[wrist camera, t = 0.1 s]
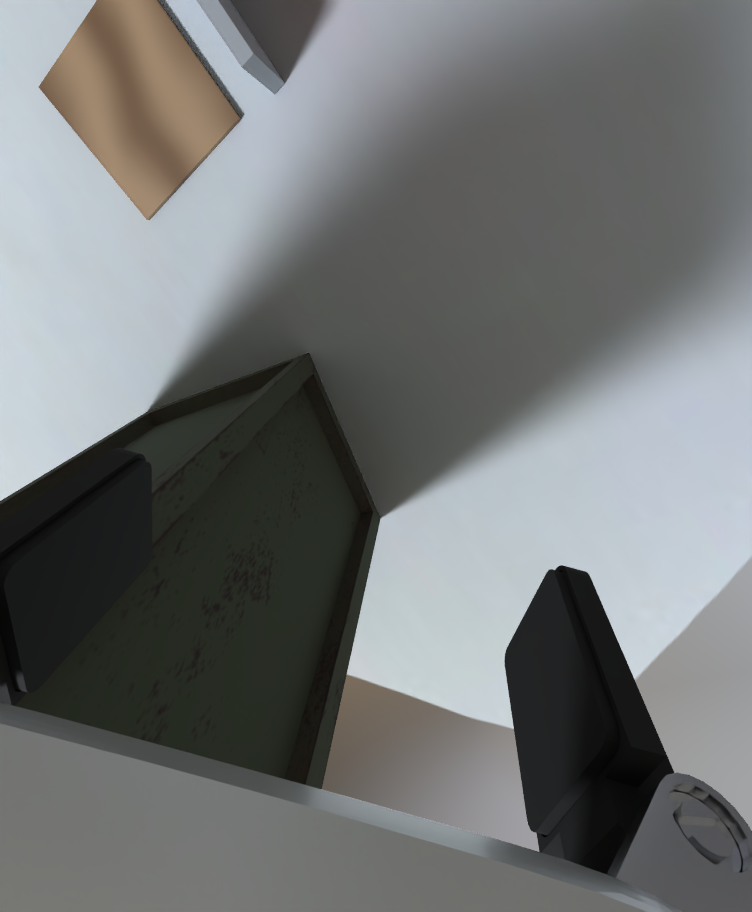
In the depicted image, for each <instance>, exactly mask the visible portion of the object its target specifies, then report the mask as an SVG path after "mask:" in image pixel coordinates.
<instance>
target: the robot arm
mask: <svg viewBox="0 0 752 912" xmlns="http://www.w3.org/2000/svg"><path fill="white" fill-rule="evenodd" d="M152 551H153V549H152V467H151V464H150V463H149V462H146V458H145V456H144V455H143V454H140V453H137V452H133V451H129V450H125V449H122V448H114V449H112V450H111V451H109V452H108V453H106V454H104V455H103V456H101V457H100V458H98V459H97V460H95V461H94V462H92V463H91V464H89V465H88V466H86V467H85V468H83V469H82V470H80V471H79V472H77V473H76V474H74V475H72V476H71V477H69V478H68V479H66V480H65V481H63V482H62V483H60V484H59V485H57V486H56V487H54V488H53V489H51V490H50V491H48V492H47V493H45V494H44V495H42V496H40V497H39V498H37V499H36V500H34V501H33V502H31V503H30V504H28V505H27V506H25V507H24V508H22V509H21V510H19V511H18V512H16V513H15V514H13V515H12V516H10V517H8V518H7V519H5V520H4V521H2V522H1V523H0V912H752V831H751V829H750V827H749V826H748V824H747V823H746V822H745V820H744V819H743V818H742V817H741V815H740V814H739V813H738V811H737V810H736V809H735V808H734V807H733V806H732V805H731V804H730V803H729V802H728V801H727V800H726V799H725V798H724V797H723V796H722V795H721V794H720V793H719V792H717V791H716V790H714V789H713V788H712V787H710V786H709V785H707V784H706V783H705V782H703V781H701V780H699V779H696V778H694V777H692V776H690V775H686V774H681V773H674V771H673V769H672V766H671V764H670V762H669V759H668V757H667V755H666V752H665V750H664V748H663V745H662V743H661V741H660V738H659V736H658V734H657V731H656V729H655V727H654V725H653V722H652V720H651V717H650V715H649V713H648V711H647V708H646V706H645V704H644V701H643V699H642V696H641V694H640V692H639V689H638V687H637V685H636V682H635V680H634V678H633V675H632V673H631V671H630V668H629V666H628V664H627V661H626V659H625V657H624V654H623V652H622V650H621V648H620V645H619V643H618V641H617V638H616V636H615V634H614V631H613V629H612V627H611V624H610V622H609V620H608V617H607V615H606V613H605V610H604V608H603V606H602V603H601V601H600V599H599V596H598V594H597V592H596V589H595V587H594V585H593V582H592V580H591V578H590V576H589V574H588V573H587V572H585V571H581V570H577V569H573V568H570V567H566V566H559V567H557V568H556V570H552V569H551V570H549V571H548V572H547V573H546V575H545V577H544V579H543V581H542V583H541V585H540V586H539V588H538V590H537V592H536V594H535V596H534V598H533V600H532V602H531V604H530V605H529V607H528V609H527V611H526V613H525V615H524V617H523V619H522V621H521V622H520V624H519V626H518V628H517V630H516V632H515V634H514V636H513V638H512V640H511V641H510V643H509V645H508V647H507V650H506V653H505V669H506V676H507V683H508V690H509V697H510V704H511V711H512V718H513V725H514V732H515V739H516V746H517V752H518V759H519V766H520V773H521V780H522V787H523V794H524V801H525V808H526V815H527V821H528V825H529V827H530V829H531V831H533V832H536V833H537V838H538V845H539V851H540V852H537V851H534V850H531V849H527V848H524V847H521V846H517V845H514V844H511V843H507V842H504V841H501V840H498V839H494V838H491V837H488V836H484V835H481V834H478V833H474V832H470V831H467V830H464V829H460V828H456V827H453V826H449V825H446V824H442V823H439V822H435V821H431V820H428V819H424V818H421V817H418V816H414V815H410V814H407V813H403V812H400V811H396V810H393V809H389V808H386V807H382V806H379V805H375V804H372V803H368V802H364V801H361V800H357V799H354V798H350V797H347V796H343V795H340V794H335V793H332V792H329V791H325V790H322V789H318V788H314V787H311V786H307V785H304V784H300V783H296V782H293V781H289V780H286V779H282V778H278V777H275V776H271V775H267V774H264V773H260V772H257V771H253V770H249V769H246V768H242V767H239V766H235V765H231V764H228V763H224V762H220V761H217V760H213V759H209V758H206V757H202V756H199V755H195V754H191V753H188V752H184V751H180V750H177V749H173V748H169V747H166V746H162V745H158V744H155V743H151V742H147V741H144V740H140V739H136V738H132V737H129V736H125V735H121V734H118V733H114V732H110V731H107V730H103V729H99V728H95V727H92V726H88V725H84V724H81V723H77V722H73V721H70V720H66V719H62V718H58V717H55V716H51V715H47V714H44V713H40V712H36V711H32V710H28V709H24V708H20V707H16V706H15V705H16V704H17V703H18V702H19V701H20V700H21V699H22V698H23V697H24V695H25V694H26V693H27V692H28V693H32V692H35V691H36V690H38V689H39V688H40V687H41V686H42V685H43V684H44V683H45V681H46V680H47V679H48V678H49V677H50V676H51V675H52V674H53V672H54V671H55V670H56V669H57V668H58V667H59V666H60V665H61V663H62V662H63V661H64V660H65V659H66V658H67V657H68V655H69V654H70V653H71V652H72V651H73V650H74V649H75V648H76V646H77V645H78V644H79V643H80V642H81V641H82V640H83V639H84V637H85V636H86V635H87V634H88V633H89V632H90V631H91V629H92V628H93V627H94V626H95V625H96V624H97V623H98V622H99V620H100V619H101V618H102V617H103V616H104V615H105V614H106V612H107V611H108V610H109V609H110V608H111V607H112V606H113V605H114V603H115V602H116V601H117V600H118V599H119V598H120V597H121V596H122V594H123V593H124V592H125V591H126V590H127V589H128V588H129V586H130V585H131V584H132V583H133V582H134V581H135V580H136V579H137V577H138V576H139V575H140V574H141V573H142V572H143V571H144V570H145V568H146V567H147V566H148V564H149V562H150V560H151V557H152Z"/></svg>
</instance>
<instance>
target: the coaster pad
mask: <svg viewBox="0 0 752 912" xmlns="http://www.w3.org/2000/svg"><path fill="white" fill-rule="evenodd" d="M39 88H40V89H41V91H42V92H43V93H44V94H45V95H46V97H47V98H48V99H49V100H50V102H51V103H52V104H53V105H54V106H55V108H56V109H57V110H58V111H59V113H60V114H61V115H62V116H63V117H64V119H65V120H66V121H67V122H68V124H69V125H70V126H71V127H72V129H73V130H74V131H75V132H76V133H77V135H78V136H79V137H80V138H81V140H82V141H83V142H84V143H85V144H86V146H87V147H88V148H89V149H90V151H91V152H92V153H93V154H94V155H95V157H96V158H97V159H98V160H99V162H100V163H101V164H102V165H103V166H104V168H105V169H106V170H107V171H108V173H109V174H110V175H111V176H112V178H113V179H114V180H115V181H116V182H117V184H118V185H119V186H120V187H121V189H122V190H123V191H124V192H125V193H126V195H127V196H128V197H129V198H130V200H131V201H132V202H133V203H134V204H135V206H136V207H137V208H138V209H139V211H140V212H141V213H142V214H143V216H144V217H145V218H146V219H147V220H150V219H151V218H152V217H153V216H154V215H155V213H156V212H157V211H158V210H159V209H160V208H161V207H162V206H163V205H164V204H165V203H166V201H167V200H168V199H169V198H170V197H171V196H172V195H173V194H174V193H175V192H176V190H177V189H178V188H179V187H180V186H181V185H182V184H183V183H184V182H185V181H186V179H187V178H188V177H189V176H190V175H191V174H192V173H193V172H194V171H195V170H196V168H197V167H198V166H199V165H200V164H201V163H202V162H203V161H204V160H205V159H206V157H207V156H208V155H209V154H210V153H211V152H212V151H213V150H214V149H215V148H216V146H217V145H218V144H219V143H220V142H221V141H222V140H223V139H224V138H225V137H226V135H227V134H228V133H229V132H230V131H231V130H232V129H233V128H234V127H235V126H236V124H237V123H238V122H239V121H240V120H241V118H240V116H239V115H238V114H237V112H236V111H235V109H234V108H233V106H232V105H231V104H230V102H229V101H228V99H227V98H226V96H225V95H224V94H223V92H222V91H221V89H220V88H219V87H218V85H217V84H216V82H215V81H214V79H213V78H212V77H211V75H210V74H209V72H208V71H207V69H206V68H205V67H204V65H203V64H202V62H201V61H200V59H199V58H198V57H197V55H196V54H195V52H194V51H193V49H192V48H191V47H190V45H189V44H188V42H187V41H186V39H185V38H184V37H183V35H182V34H181V32H180V31H179V29H178V28H177V27H176V25H175V24H174V22H173V21H172V19H171V18H170V17H169V15H168V14H167V12H166V11H165V9H164V8H163V7H162V5H161V4H160V2H159V1H158V0H97V1H96V3H95V4H94V6H93V7H92V9H91V10H90V12H89V13H88V15H87V16H86V18H85V19H84V21H83V22H82V24H81V25H80V26H79V28H78V29H77V31H76V32H75V34H74V35H73V37H72V38H71V40H70V41H69V43H68V44H67V46H66V47H65V49H64V50H63V52H62V53H61V55H60V56H59V58H58V59H57V61H56V62H55V64H54V65H53V67H52V68H51V69H50V71H49V72H48V74H47V75H46V77H45V78H44V80H43V81H42V83H41V84H40V86H39Z"/></svg>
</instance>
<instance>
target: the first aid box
mask: <svg viewBox="0 0 752 912" xmlns="http://www.w3.org/2000/svg"><path fill="white" fill-rule="evenodd" d="M114 448H122V449H125V450H129V451H133V452H137V453H140V454H143V455H144V456H145V458H146V462H149V463H150V464H151V467H152V549H153V551H152V557H151V560H150V562H149V564H148V566H147V567H146V568H145V570H144V571H143V572H142V573H141V574H140V575H139V576H138V577H137V579H136V580H135V581H134V582H133V583H132V584H131V585H130V586H129V588H128V589H127V590H126V591H125V592H124V593H123V594H122V596H121V597H120V598H119V599H118V600H117V601H116V602H115V603H114V605H113V606H112V607H111V608H110V609H109V610H108V611H107V612H106V614H105V615H104V616H103V617H102V618H101V619H100V620H99V622H98V623H97V624H96V625H95V626H94V627H93V628H92V629H91V631H90V632H89V633H88V634H87V635H86V636H85V637H84V639H83V640H82V641H81V642H80V643H79V644H78V645H77V646H76V648H75V649H74V650H73V651H72V652H71V653H70V654H69V655H68V657H67V658H66V659H65V660H64V661H63V662H62V663H61V665H60V666H59V667H58V668H57V669H56V670H55V671H54V672H53V674H52V675H51V676H50V677H49V678H48V679H47V680H46V681H45V683H44V684H43V685H42V686H41V687H40V688H39V689H38V690H36V691H35V692H32V693H28V692H27V693H26V694H25V695H24V697H23V698H22V699H21V700H20V701H19V702H18V703H17V704H16V705H15V706H16V707H20V708H24V709H28V710H32V711H36V712H40V713H44V714H47V715H51V716H55V717H58V718H62V719H66V720H70V721H73V722H77V723H81V724H84V725H88V726H92V727H95V728H99V729H103V730H107V731H110V732H114V733H118V734H121V735H125V736H129V737H132V738H136V739H140V740H144V741H147V742H151V743H155V744H158V745H162V746H166V747H169V748H173V749H177V750H180V751H184V752H188V753H191V754H195V755H199V756H202V757H206V758H209V759H213V760H217V761H220V762H224V763H228V764H231V765H235V766H239V767H242V768H246V769H249V770H253V771H257V772H260V773H264V774H267V775H271V776H275V777H278V778H282V779H286V780H289V781H293V782H296V783H300V784H304V785H307V786H311V787H314V788H318V789H322V784H323V780H324V775H325V771H326V766H327V761H328V757H329V752H330V747H331V743H332V738H333V734H334V729H335V725H336V720H337V715H338V711H339V706H340V702H341V697H342V692H343V688H344V683H345V679H346V674H347V669H348V665H349V660H350V656H351V651H352V646H353V642H354V637H355V633H356V628H357V623H358V619H359V614H360V610H361V605H362V600H363V596H364V591H365V587H366V582H367V578H368V573H369V568H370V564H371V559H372V555H373V550H374V545H375V541H376V536H377V532H378V527H379V522H380V517H379V514H378V512H377V510H376V507H375V505H374V503H373V500H372V498H371V496H370V494H369V491H368V489H367V487H366V484H365V482H364V480H363V477H362V475H361V473H360V470H359V468H358V466H357V463H356V461H355V459H354V457H353V454H352V452H351V450H350V447H349V445H348V443H347V440H346V438H345V436H344V433H343V431H342V429H341V426H340V424H339V422H338V419H337V417H336V415H335V413H334V410H333V408H332V406H331V403H330V401H329V399H328V396H327V394H326V392H325V389H324V387H323V385H322V382H321V380H320V378H319V375H318V373H317V371H316V368H315V366H314V364H313V361H312V359H311V357H310V355H309V353H307V354H305V355H302V356H299V357H296V358H294V359H291V360H288V361H285V362H283V363H280V364H277V365H274V366H272V367H269V368H266V369H264V370H261V371H258V372H255V373H253V374H250V375H247V376H245V377H242V378H239V379H236V380H234V381H231V382H228V383H225V384H223V385H220V386H217V387H214V388H212V389H209V390H206V391H203V392H201V393H198V394H195V395H193V396H190V397H187V398H184V399H182V400H179V401H176V402H173V403H171V404H168V405H165V406H162V407H160V408H157V409H154V410H152V411H149V412H146V413H145V414H143V415H141V416H140V417H138V418H136V419H135V420H133V421H131V422H130V423H128V424H126V425H125V426H123V427H122V428H120V429H118V430H117V431H115V432H113V433H112V434H110V435H108V436H107V437H105V438H103V439H102V440H100V441H99V442H97V443H95V444H94V445H92V446H90V447H89V448H87V449H85V450H84V451H82V452H80V453H79V454H77V455H76V456H74V457H72V458H71V459H69V460H67V461H66V462H64V463H62V464H61V465H59V466H57V467H56V468H54V469H52V470H51V471H49V472H48V473H46V474H44V475H43V476H41V477H39V478H38V479H36V480H34V481H33V482H31V483H29V484H28V485H26V486H25V487H23V488H21V489H20V490H18V491H16V492H15V493H13V494H11V495H10V496H8V497H6V498H5V499H3V500H2V501H0V523H1V522H2V521H4V520H5V519H7V518H8V517H10V516H12V515H13V514H15V513H16V512H18V511H19V510H21V509H22V508H24V507H25V506H27V505H28V504H30V503H31V502H33V501H34V500H36V499H37V498H39V497H40V496H42V495H44V494H45V493H47V492H48V491H50V490H51V489H53V488H54V487H56V486H57V485H59V484H60V483H62V482H63V481H65V480H66V479H68V478H69V477H71V476H72V475H74V474H76V473H77V472H79V471H80V470H82V469H83V468H85V467H86V466H88V465H89V464H91V463H92V462H94V461H95V460H97V459H98V458H100V457H101V456H103V455H104V454H106V453H108V452H109V451H111V450H112V449H114Z"/></svg>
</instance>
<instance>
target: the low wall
mask: <svg viewBox="0 0 752 912" xmlns="http://www.w3.org/2000/svg"><path fill="white" fill-rule="evenodd" d="M197 2H198V3H199V5H200V6H201V8H202V9H203V10H204V12H205V13H206V15H207V16H208V18H209V19H210V21H211V22H212V24H213V25H214V27H215V28H216V30H217V31H218V33H219V34H220V36H221V37H222V39H223V40H224V41H225V43H226V44H227V46H228V47H229V49H230V50H231V52H232V53H233V55H234V56H235V58H236V59H237V61H238V62H239V64H240V65H241V67H242V68H244V69H245V70H246V71H247V72H248V73H250V74H251V75H252V76H253V77H254V78H256V79H257V80H258V81H259V82H261V83H262V84H263V85H264V86H265V87H267V88H268V89H269V90H270V91H271V92H273V93H274V94H276V92H277V91H278V90H279V89H280V88H281V87H282V86H283V85H284V84H285V83H284V81H283V80H282V78H281V77H280V75H279V74H278V72H277V71H276V69H275V68H274V66H273V64H272V63H271V61H270V60H269V58H268V57H267V55H266V54H265V52H264V51H263V49H262V48H261V46H260V45H259V43H258V42H257V40H256V39H255V37H254V36H253V34H252V33H251V31H250V29H249V28H248V26H247V25H246V23H245V22H244V20H243V19H242V17H241V16H240V14H239V13H238V11H237V10H236V8H235V7H234V5H233V4H232V2H231V1H230V0H197Z"/></svg>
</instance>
